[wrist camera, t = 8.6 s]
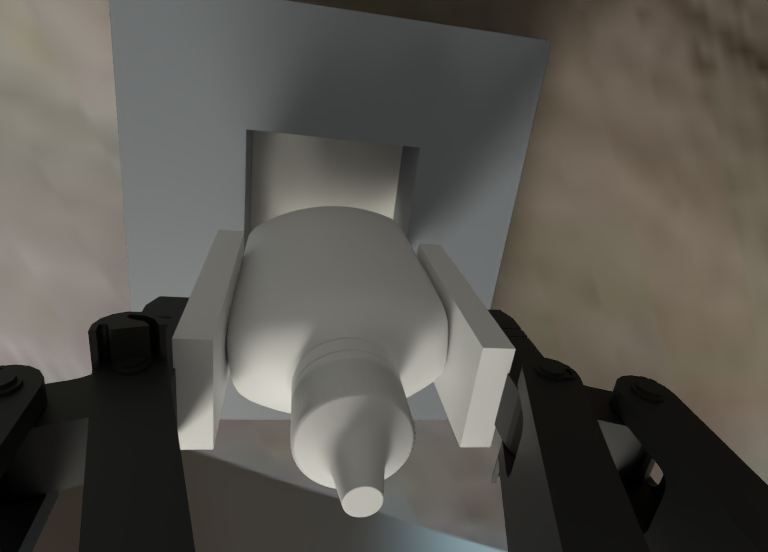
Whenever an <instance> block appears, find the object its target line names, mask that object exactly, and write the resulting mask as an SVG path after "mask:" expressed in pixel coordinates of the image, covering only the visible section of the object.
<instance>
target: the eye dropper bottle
mask: <svg viewBox="0 0 768 552" xmlns="http://www.w3.org/2000/svg"><path fill="white" fill-rule="evenodd" d="M447 349H448V319H447V316H446V313H445V310H444V307H443V304H442V302H441V300H440V298H439V296H438V294H437V292H436V290H435V288H434V286H433V284H432V282H431V280H430V279H429V277H428V275H427V273H426V271H425V270H424V268H423V266H422V264H421V262H420V261H419V259H418V257H417V255H416V254H415V252H414V250H413V248H412V247H411V245H410V243H409V241H408V240H407V238H406V236H405V234H404V233H403V231H402V229H401V227H400V226H399V224H397V223H396V222H395V221H394V220H393V219H391V218H389V217H386V216H384V215H381V214H378V213H375V212H372V211H368V210H364V209H359V208H352V207H344V206H320V207H311V208H305V209H300V210H296V211H292V212H289V213H286V214H283V215H280V216H277V217H275V218H272V219H270V220H268V221H266V222H264V223H262V224H260V225H258V226H257V227H255V228H254V229H253V231H252V232H251V233H250V234H249V236H248V240H247V243H246V247H245V251H244V258H243V262H242V266H241V270H240V274H239V278H238V282H237V286H236V290H235V294H234V298H233V302H232V306H231V311H230V315H229V320H228V325H227V334H226V350H227V357H228V363H229V369H230V374H231V378H232V382H233V384H234V386H235V388H236V389H237V391H238V393H239V394H241V395H242V396H244V397H245V398H247V399H248V400H250V401H252V402H255V403H257V404H260V405H262V406H265V407H268V408H272V409H275V410H278V411H282V412H286V413H291V444H290V445H291V451H292V456H293V457H294V461H295V462H296V465H297V466H298V467H299V469H300V470H301V471H302V472H303V474H305V475H307V477H308V478H310V479H312V480H313V481H315V482H317V483H319V484H321V485H324V486H327V487H330V488H335V489H337V492H338V495H339V498H340V501H341V504H342V506H343V509H344V511H345V512H346V513H348V514H349V515H351V516H354V517H366V516H369V515H372V514H374V513H375V512H377V511H378V510H379V509H380V508H381V506H382V504H383V499H384V480H385V479H386V478H388V477H390V476H391V475H392V474H394V473H395V472H396V471H397V470H398V469H399V468H400V467H401V466H402V465H403V464H404V463H405V461H406V460H407V459H408V456H409V455H410V454H411V451H412V449H413V445H414V440H415V434H416V432H415V425H414V421H413V418H412V414H411V411H410V408H409V405H408V401H407V397H409V396H411V395H413V394H415V393H416V392H418V391H420V390H422V389H423V388H425V387H426V386H428V385H429V384H431V383H432V382H433V381H434V380H435V379H436V378H437V377H439V376H440V375H441V373H442V371H443V369H444V367H445V364H446V359H447Z"/></svg>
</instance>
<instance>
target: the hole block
mask: <svg viewBox="0 0 768 552" xmlns="http://www.w3.org/2000/svg"><path fill="white" fill-rule="evenodd" d="M109 9H110V23H111V37H112V51H113V64H114V78H115V92H116V106H117V120H118V134H119V148H120V162H121V176H122V190H123V204H124V217H125V231H126V245H127V259H128V273H129V287H130V301H131V312H142V310H143V309H144V307H145V305H146V304H148V303H150V302H151V301H153V300H154V299H156V298H158V297H159V296H167V297H189V298H190V295H191V293H192V291H193V288H194V286H195V284H196V281H197V279H198V277H199V274H200V272H201V270H202V267H203V265H204V263H205V260H206V258H207V256H208V253H209V251H210V249H211V246H212V244H213V242H214V240H215V237H216V235H217V233H218V230H234V231H244V251H245V247H246V243H247V240H248V236H249V234H250V233H251V232H252V231H253V229H254V228H255V227H257V226H258V225H260V224H262V223H264V222H266V221H268V220H270V219H272V218H275V217H277V216H280V215H283V214H286V213H289V212H292V211H296V210H300V209H305V208H311V207H320V206H344V207H352V208H359V209H364V210H368V211H372V212H375V213H378V214H381V215H384V216H386V217H389V218H391V219H393V220H394V221H395V222H396V223H397V224H399V226H400V227H401V229H402V231H403V233H404V234H405V236H406V238H407V240H408V241H409V243H410V245H411V247H412V248H413V250H414V252H415V254H416V255H417V250H418V244H419V243H422V244H437V245H441V246H442V247H443V249H444V250H445V252H446V253H447V254H448V256H449V257H450V258H451V260H452V261H453V263H454V264H455V265H456V267H457V268H458V270H459V271H460V272H461V274H462V275H463V276H464V278H465V279H466V281H467V282H468V283H469V285H470V286H471V288H472V289H473V290H474V292H475V293H476V295H477V296H478V297H479V299H480V300H481V301H482V303H483V304H484V306H485V307H486V308H487V310H490V308H491V303H492V299H493V295H494V290H495V286H496V281H497V277H498V273H499V268H500V264H501V260H502V255H503V251H504V247H505V242H506V238H507V234H508V229H509V225H510V221H511V216H512V212H513V208H514V203H515V199H516V195H517V190H518V186H519V182H520V177H521V173H522V168H523V164H524V160H525V155H526V151H527V147H528V142H529V138H530V134H531V129H532V125H533V121H534V116H535V112H536V108H537V103H538V99H539V95H540V90H541V86H542V82H543V77H544V73H545V69H546V64H547V60H548V56H549V51H550V47H551V42H552V41H549V40H542V39H536V38H529V37H523V36H516V35H510V34H503V33H496V32H490V31H483V30H477V29H470V28H464V27H457V26H451V25H444V24H438V23H431V22H425V21H418V20H412V19H405V18H398V17H392V16H385V15H379V14H372V13H366V12H359V11H353V10H346V9H340V8H333V7H327V6H320V5H314V4H307V3H300V2H294V1H287V0H109ZM407 401H408V405H409V408H410V411H411V414H412V418H413V420H449V419H448V416H447V414H446V411H445V409H444V407H443V404H442V402H441V399H440V397H439V394H438V392H437V389H436V387H435V384H434V382H432V383H431V384H429V385H428V386H426V387H425V388H423V389H422V390H420V391H418V392H416V393H415V394H413V395H411V396H409V397H407ZM220 419H270V420H291V413H286V412H282V411H278V410H275V409H272V408H268V407H265V406H262V405H260V404H257V403H255V402H252V401H250V400H248V399H247V398H245V397H244V396H242V395H241V394H239V393H238V391H237V389H236V388H235V386H234V384H233V382H232V378H231V374H230V372H229V377H228V381H227V386H226V391H225V396H224V401H223V405H222V410H221V415H220Z"/></svg>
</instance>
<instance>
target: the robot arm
mask: <svg viewBox="0 0 768 552" xmlns="http://www.w3.org/2000/svg"><path fill="white" fill-rule="evenodd" d="M417 257H418V259H419V261H420V262H421V264H422V266H423V268H424V270H425V271H426V273H427V275H428V277H429V279H430V280H431V282H432V284H433V286H434V288H435V290H436V292H437V294H438V296H439V298H440V300H441V302H442V304H443V307H444V310H445V313H446V316H447V319H448V349H447V359H446V364H445V367H444V369H443V371H442V373H441V375H440V376H439V377H437V378H436V379H435V380H434V381H433V382H434V384H435V387H436V389H437V392H438V394H439V397H440V399H441V402H442V404H443V407H444V409H445V411H446V414H447V416H448V419H449V421H450V424H451V426H452V429H453V431H454V434H455V436H456V439H457V441H458V444H459V446H460V447H490V446H491V442H492V438H493V434H494V430H495V427H496V428H497V430H498V432H499V434H500V436H501V438H502V443H501V446H500V450H499V454H498V457H497V461H496V465H495V469H494V472H493V476H492V481H491V483H496V482H497V478H498V476H499V475H500V480H501V489H502V499H503V508H504V517H505V527H506V536H507V545H508V552H768V485H767V484H766V483H765V482H764V481H763V480H762V479H761V478H760V477H759V476H758V475H757V474H756V473H755V472H754V471H753V470H752V469H751V468H750V467H748V466H747V465H746V464H745V463H744V462H743V461H742V460H741V459H740V458H739V457H738V456H737V455H736V454H735V453H734V452H733V451H732V450H731V449H730V448H729V447H728V446H727V445H726V444H725V443H724V442H723V441H722V440H721V439H720V438H719V437H718V436H717V435H716V434H715V433H714V432H713V431H712V430H711V429H710V428H709V427H708V426H707V425H706V424H705V423H704V422H702V421H701V420H700V419H699V418H698V417H697V416H696V415H695V414H694V413H693V412H692V411H691V410H690V409H689V408H688V407H687V406H686V405H685V404H684V403H683V402H682V401H681V400H680V399H679V398H678V397H677V396H676V395H675V394H674V393H673V392H671V391H670V390H669V389H667V388H666V387H665V386H663V385H661V384H659V383H657V382H656V381H654V380H652V379H647V378H646V377H642V376H640V377H638V376H632V375H629V376H622V377H620V378H618V379H617V381H616V384H615V386H614V389H613V392H612V391H607V390H603V389H598V388H593V387H588V386H585V385H583V383H582V381H581V378H580V377H579V375H578V374H577V373H576V371H574V370H573V369H572V368H570V367H569V366H567V365H565V364H563V363H561V362H559V361H556V360H552V359H549V358H544V357H543V356H542V354H541V353H540V352H539V351H538V349H537V348H536V347H535V346H534V344H533V343H532V342H531V341H530V339H529V338H527V335H526V334H525V333H524V332H523V330H521V328H520V327H519V325H518V324H517V323H516V322H515V320H514V319H513V318H511V317H510V316H508V315H507V314H505V313H504V312H502V311H501V310H487V308H486V307H485V306H484V304H483V303H482V301H481V300H480V299H479V297H478V296H477V295H476V293H475V292H474V290H473V289H472V288H471V286H470V285H469V283H468V282H467V281H466V279H465V278H464V276H463V275H462V274H461V272H460V271H459V270H458V268H457V267H456V265H455V264H454V263H453V261H452V260H451V258H450V257H449V256H448V254H447V253H446V252H445V250H444V249H443V247H442V246H441V245H437V244H422V243H419V244H418V250H417ZM243 258H244V231H234V230H218V233H217V235H216V237H215V240H214V242H213V244H212V246H211V249H210V251H209V253H208V256H207V258H206V260H205V263H204V265H203V267H202V270H201V272H200V274H199V277H198V279H197V281H196V284H195V286H194V288H193V291H192V293H191V295H190V298H189V297H167V296H159V297H158V298H156V299H154V300H153V301H151V302H150V303H148V304H146V305H145V307H144V309H143V310H142V312H123V313H117V314H112V315H109V316H106V317H104V318H101V319H99V320H98V321H96V322H95V323H93V324H92V325H91V327H90V329H89V331H88V335H89V344H90V353H91V362H92V374H91V375H88V376H85V377H82V378H78V379H73V380H68V381H61V382H55V383H49V384H45V382H44V377H43V375H42V373H41V372H40V370H38V369H35V368H33V367H31V366H24V365H6V366H4V365H2V366H0V552H32V551H33V549H34V547H35V545H36V543H37V540H38V538H39V536H40V534H41V532H42V530H43V528H44V525H45V523H46V521H47V519H48V517H49V515H50V513H51V511H52V509H53V507H54V504H55V502H56V500H57V498H58V496H59V491H60V490H63V489H67V488H71V487H75V486H80V485H84V489H83V503H82V515H81V528H80V543H79V552H195V547H194V540H193V533H192V526H191V519H190V512H189V506H188V499H187V492H186V485H185V479H184V471H183V465H182V458H181V451H180V450H191V449H214V444H215V439H216V434H217V429H218V425H219V420H220V415H221V410H222V405H223V401H224V396H225V391H226V386H227V381H228V377H229V372H230V369H229V363H228V357H227V350H226V334H227V325H228V320H229V315H230V311H231V306H232V302H233V298H234V294H235V290H236V286H237V282H238V278H239V274H240V270H241V266H242V262H243ZM655 462H656V463H657V464H658V465H659V467H660V468H661V470H662V472H663V474H664V475H663V477H662V479H661V482H660V483H659V484H657V483H655V481H654V480H653V479H652V478H651V476H650V474H651V472H652V469H653V467H654V464H655Z"/></svg>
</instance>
